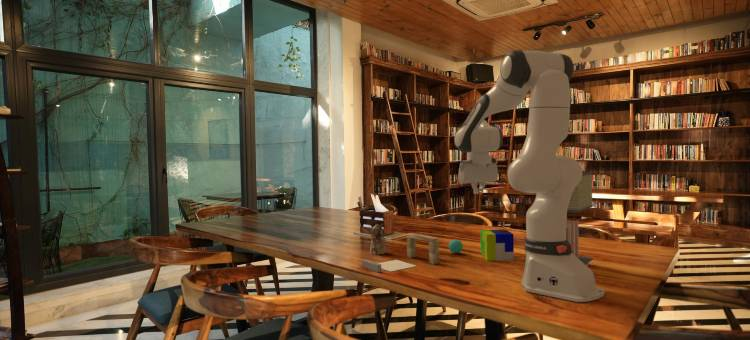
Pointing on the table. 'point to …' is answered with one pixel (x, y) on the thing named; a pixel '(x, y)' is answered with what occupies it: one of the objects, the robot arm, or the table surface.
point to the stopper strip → (371, 265)
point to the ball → (455, 246)
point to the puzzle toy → (497, 245)
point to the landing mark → (395, 265)
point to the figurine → (378, 240)
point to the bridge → (432, 246)
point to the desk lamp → (578, 203)
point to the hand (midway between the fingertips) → (478, 193)
